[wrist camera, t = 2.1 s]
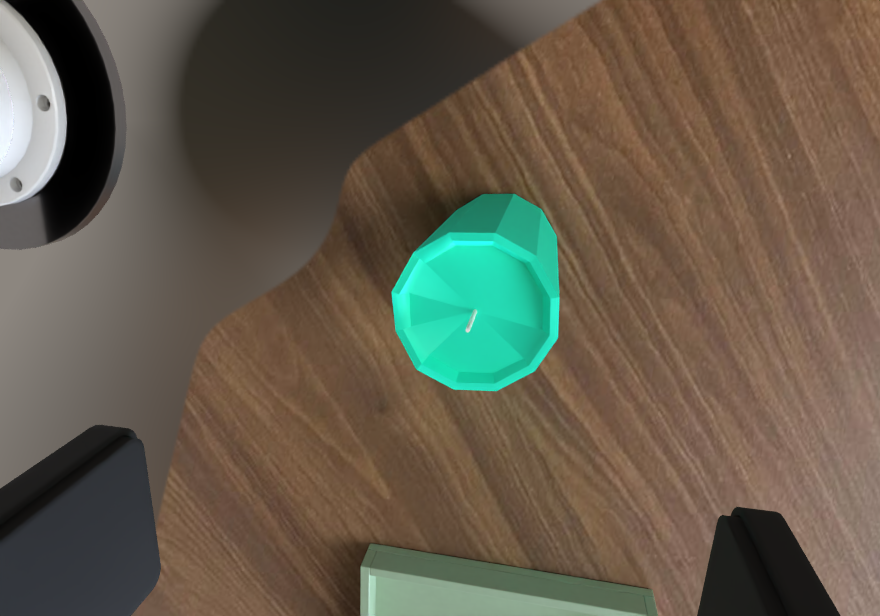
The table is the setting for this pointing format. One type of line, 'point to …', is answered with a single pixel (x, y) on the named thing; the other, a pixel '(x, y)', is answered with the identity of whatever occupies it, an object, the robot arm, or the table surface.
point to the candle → (481, 295)
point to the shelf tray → (484, 589)
